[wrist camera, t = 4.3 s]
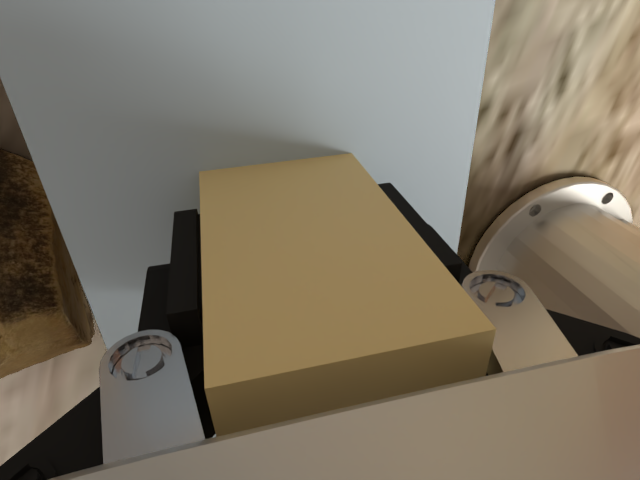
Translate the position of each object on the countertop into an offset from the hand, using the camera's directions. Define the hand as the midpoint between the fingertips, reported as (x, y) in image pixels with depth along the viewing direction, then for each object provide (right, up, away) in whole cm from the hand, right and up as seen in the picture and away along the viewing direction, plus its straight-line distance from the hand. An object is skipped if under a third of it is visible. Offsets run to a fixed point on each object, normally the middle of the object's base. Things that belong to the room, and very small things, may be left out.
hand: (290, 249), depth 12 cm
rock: (-14, 0, +12) cm, 18 cm away
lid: (0, +1, +2) cm, 2 cm away
